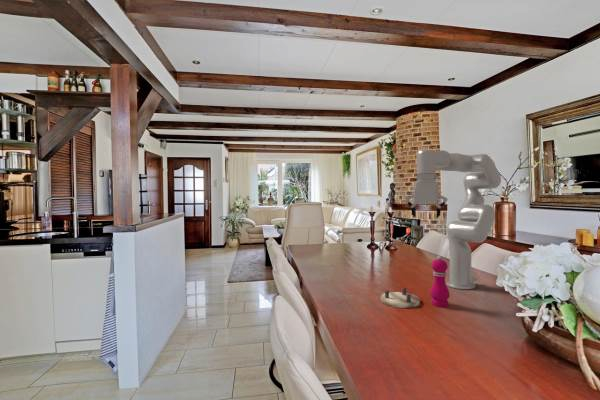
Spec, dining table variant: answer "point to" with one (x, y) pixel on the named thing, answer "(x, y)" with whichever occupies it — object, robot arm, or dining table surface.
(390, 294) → the dowel board
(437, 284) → the pepper mill
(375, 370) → the dining table surface
